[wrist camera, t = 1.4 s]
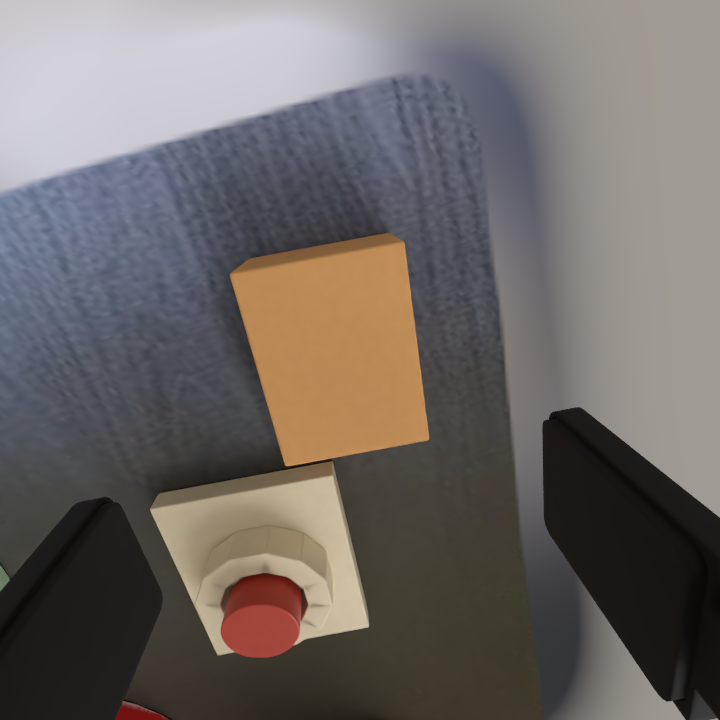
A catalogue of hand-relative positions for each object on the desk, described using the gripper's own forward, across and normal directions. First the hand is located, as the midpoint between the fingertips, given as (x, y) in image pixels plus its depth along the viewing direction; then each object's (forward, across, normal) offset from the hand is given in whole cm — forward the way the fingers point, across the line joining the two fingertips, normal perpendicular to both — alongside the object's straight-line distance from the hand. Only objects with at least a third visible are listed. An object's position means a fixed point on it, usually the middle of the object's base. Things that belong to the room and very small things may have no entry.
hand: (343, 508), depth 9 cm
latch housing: (+11, +6, +11) cm, 17 cm away
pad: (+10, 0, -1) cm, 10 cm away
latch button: (+8, +6, +11) cm, 15 cm away
